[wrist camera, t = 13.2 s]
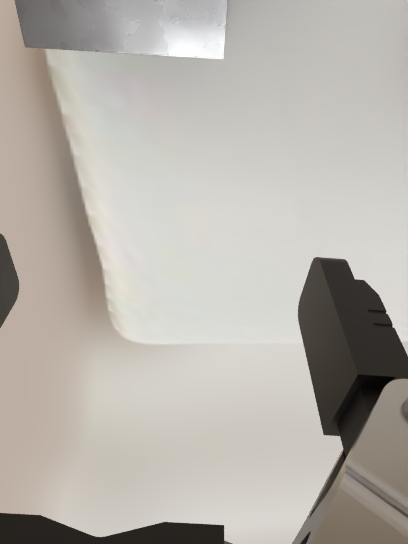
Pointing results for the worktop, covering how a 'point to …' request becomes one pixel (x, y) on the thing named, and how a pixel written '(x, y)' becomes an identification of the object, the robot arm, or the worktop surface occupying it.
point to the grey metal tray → (126, 26)
